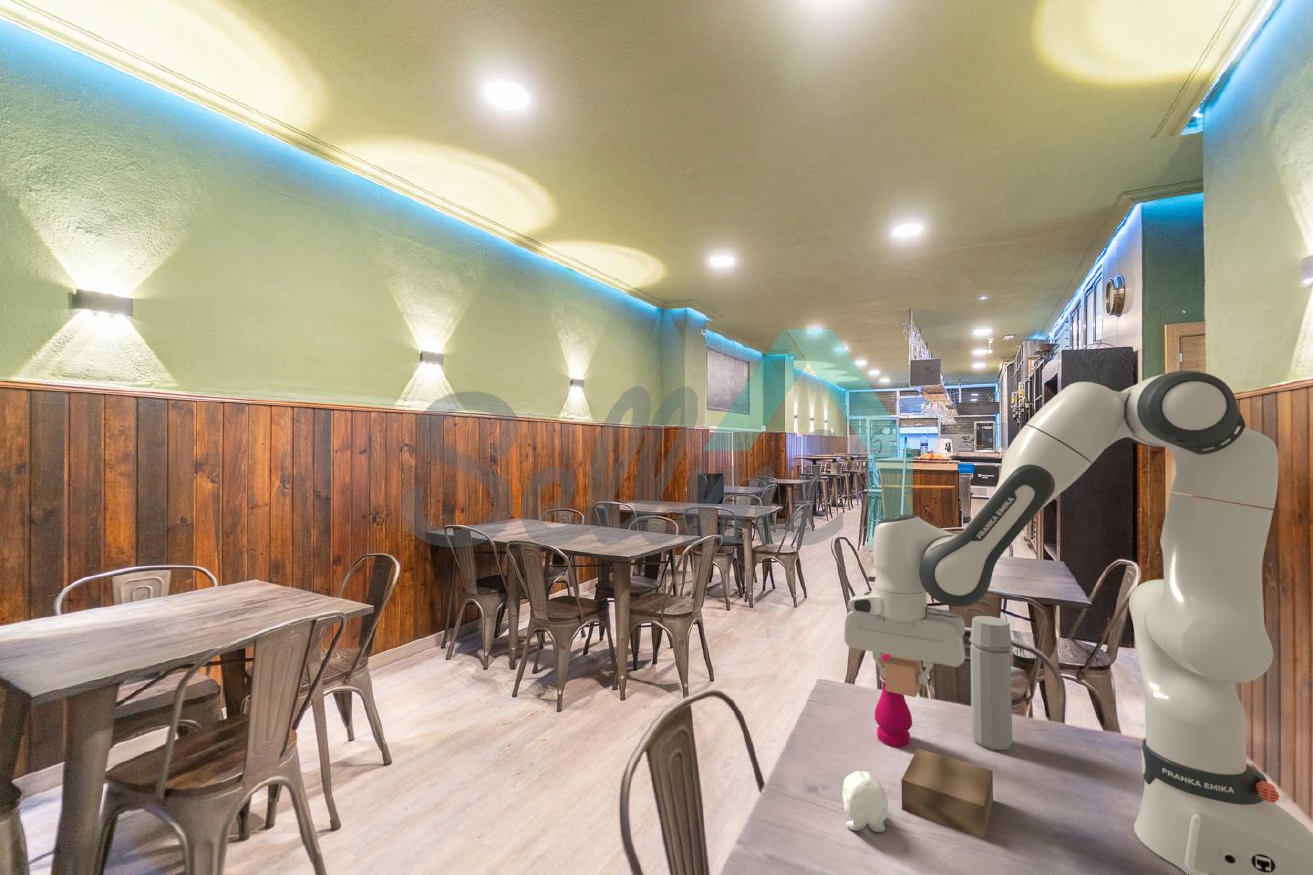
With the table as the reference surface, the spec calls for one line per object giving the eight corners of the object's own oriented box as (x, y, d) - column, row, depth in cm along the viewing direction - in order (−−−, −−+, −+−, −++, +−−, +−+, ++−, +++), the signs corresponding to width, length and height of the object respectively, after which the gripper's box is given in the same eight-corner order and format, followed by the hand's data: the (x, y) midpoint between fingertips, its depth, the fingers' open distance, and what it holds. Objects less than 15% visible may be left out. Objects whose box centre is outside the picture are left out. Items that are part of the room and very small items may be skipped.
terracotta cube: (921, 687, 104) (920, 659, 104) (914, 697, 100) (913, 668, 100) (892, 681, 107) (891, 654, 107) (885, 690, 103) (884, 662, 103)
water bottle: (1001, 757, 111) (999, 628, 111) (962, 739, 118) (960, 618, 118) (1027, 744, 115) (1024, 621, 116) (988, 728, 122) (986, 611, 122)
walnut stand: (993, 799, 98) (992, 770, 98) (984, 838, 88) (983, 806, 88) (917, 775, 105) (917, 748, 105) (901, 809, 95) (901, 779, 95)
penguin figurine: (847, 781, 88) (832, 748, 100) (849, 840, 87) (834, 799, 99) (889, 784, 88) (869, 750, 99) (892, 843, 87) (871, 802, 98)
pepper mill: (918, 748, 114) (917, 648, 114) (882, 748, 114) (881, 648, 114) (903, 730, 121) (902, 636, 122) (869, 730, 121) (868, 636, 122)
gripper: (967, 607, 100) (970, 686, 100) (850, 593, 112) (853, 663, 112) (961, 616, 95) (964, 699, 95) (839, 600, 107) (842, 673, 107)
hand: (903, 680), depth 103 cm, fingers closed on terracotta cube, 5 cm apart
